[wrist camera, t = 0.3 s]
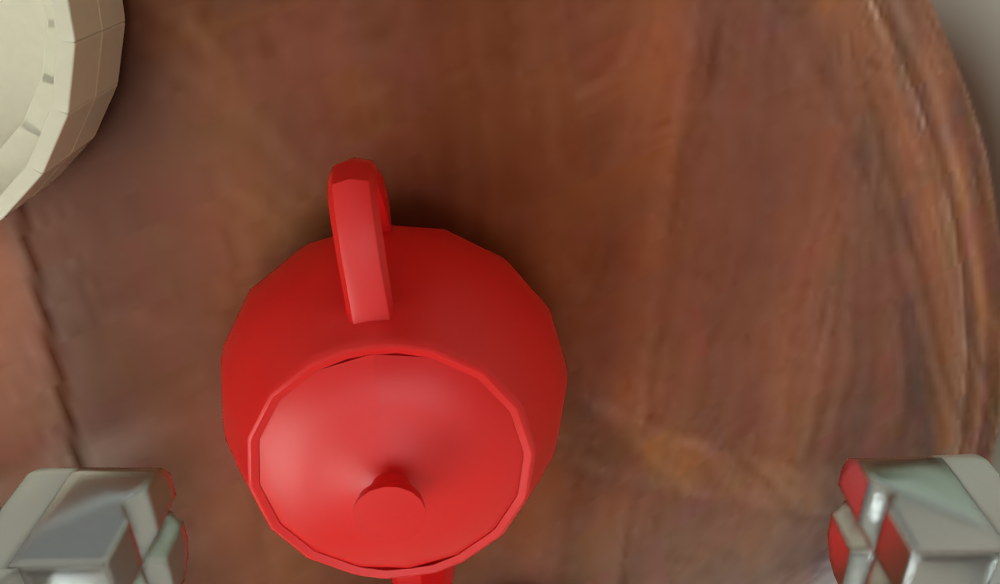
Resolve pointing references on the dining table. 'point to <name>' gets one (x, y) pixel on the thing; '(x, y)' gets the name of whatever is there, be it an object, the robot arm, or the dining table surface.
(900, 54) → the dining table surface
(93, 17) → the bowl
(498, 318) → the teapot
